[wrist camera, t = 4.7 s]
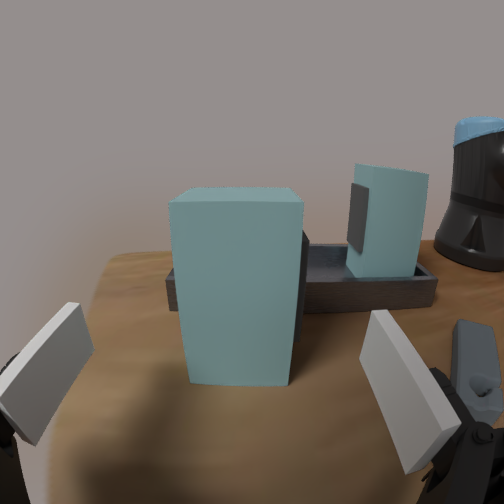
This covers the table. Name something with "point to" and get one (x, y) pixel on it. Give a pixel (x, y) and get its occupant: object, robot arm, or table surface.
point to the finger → (239, 282)
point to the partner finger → (385, 221)
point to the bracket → (477, 370)
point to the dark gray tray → (349, 286)
